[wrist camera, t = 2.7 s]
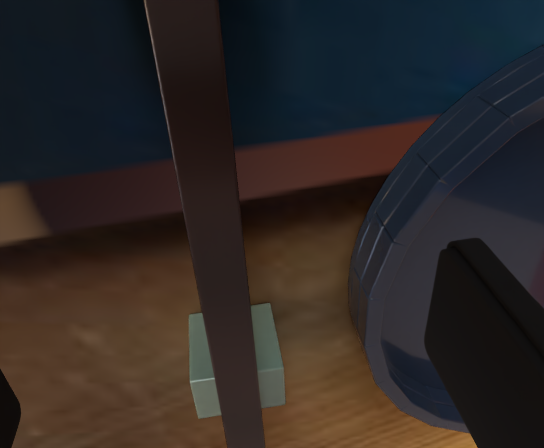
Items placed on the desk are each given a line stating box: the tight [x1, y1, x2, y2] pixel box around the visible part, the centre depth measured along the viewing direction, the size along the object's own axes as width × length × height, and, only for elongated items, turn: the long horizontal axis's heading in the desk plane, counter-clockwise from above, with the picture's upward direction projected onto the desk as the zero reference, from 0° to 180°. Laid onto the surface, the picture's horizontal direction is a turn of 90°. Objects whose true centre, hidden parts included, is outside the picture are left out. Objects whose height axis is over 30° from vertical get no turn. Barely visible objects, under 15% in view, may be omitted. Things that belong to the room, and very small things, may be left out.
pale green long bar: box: [189, 303, 286, 419], centre depth 13 cm, size 15×3×3 cm, turn 4°
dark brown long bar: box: [143, 0, 265, 448], centre depth 11 cm, size 20×1×1 cm, turn 4°
